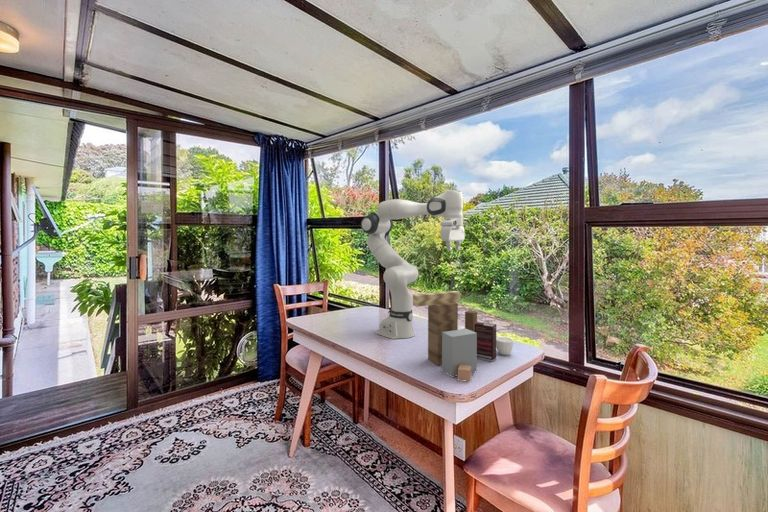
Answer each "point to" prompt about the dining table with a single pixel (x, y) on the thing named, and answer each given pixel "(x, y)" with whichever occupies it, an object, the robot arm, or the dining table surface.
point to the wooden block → (470, 320)
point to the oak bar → (436, 298)
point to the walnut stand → (440, 328)
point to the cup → (504, 345)
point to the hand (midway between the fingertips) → (453, 250)
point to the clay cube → (464, 372)
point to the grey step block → (459, 350)
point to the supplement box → (486, 341)
